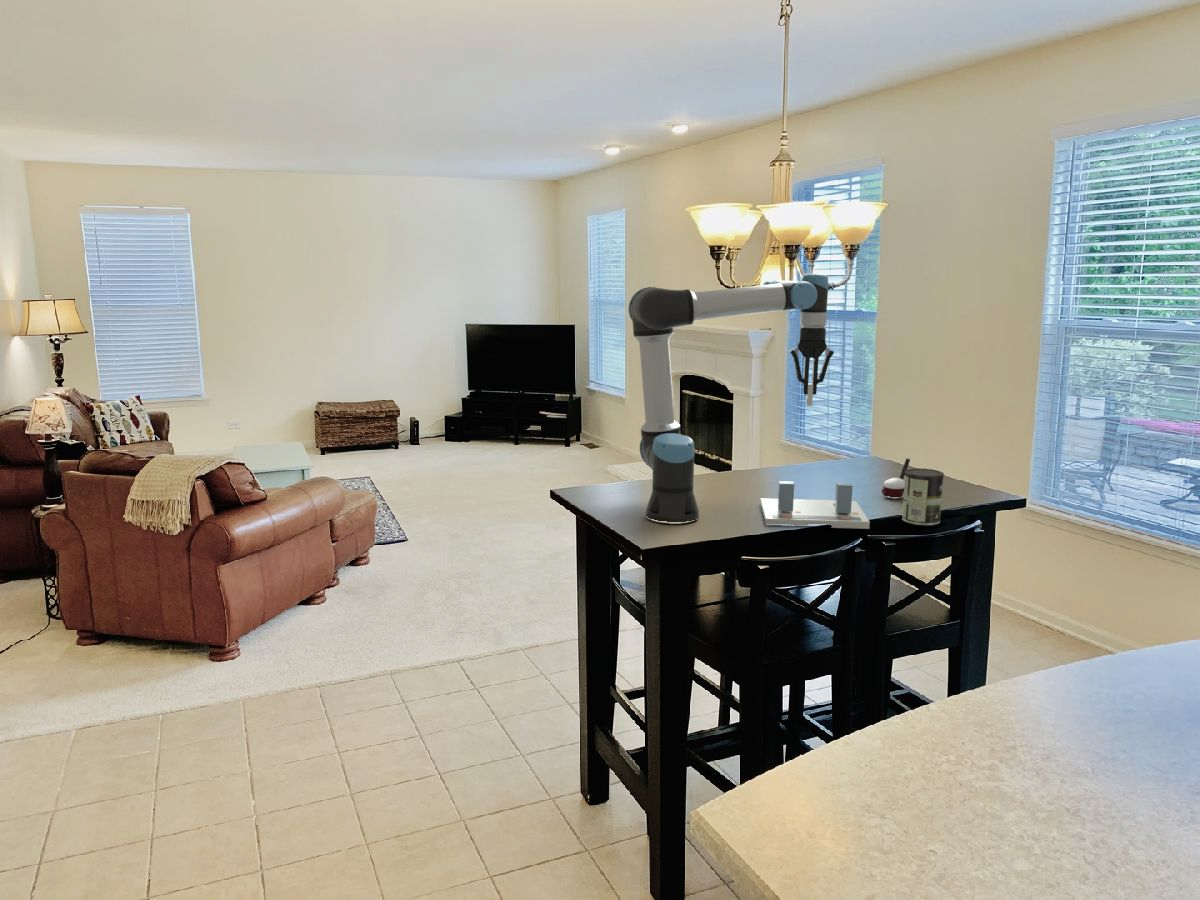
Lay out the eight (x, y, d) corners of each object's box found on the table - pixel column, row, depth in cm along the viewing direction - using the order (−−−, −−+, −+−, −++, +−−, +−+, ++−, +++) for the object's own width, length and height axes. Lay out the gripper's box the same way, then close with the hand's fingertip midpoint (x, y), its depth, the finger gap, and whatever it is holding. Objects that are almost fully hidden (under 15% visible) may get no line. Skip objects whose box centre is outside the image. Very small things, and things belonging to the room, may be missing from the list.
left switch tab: (778, 510, 247) (779, 483, 245) (777, 508, 250) (778, 481, 248) (792, 511, 246) (794, 484, 245) (791, 508, 249) (793, 481, 247)
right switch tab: (836, 512, 245) (837, 485, 243) (834, 509, 248) (836, 482, 246) (850, 513, 244) (852, 485, 243) (849, 510, 247) (850, 483, 246)
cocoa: (882, 501, 268) (884, 463, 265) (876, 495, 274) (877, 458, 271) (913, 500, 268) (915, 462, 265) (906, 494, 274) (908, 457, 271)
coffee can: (936, 516, 250) (940, 468, 247) (943, 526, 240) (947, 477, 237) (899, 514, 252) (902, 467, 249) (904, 524, 242) (907, 475, 239)
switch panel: (765, 525, 241) (765, 518, 241) (760, 504, 263) (760, 497, 262) (869, 528, 238) (869, 521, 238) (855, 507, 260) (855, 500, 259)
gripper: (833, 326, 261) (829, 403, 266) (789, 325, 262) (786, 403, 267) (837, 327, 254) (832, 407, 259) (791, 327, 255) (788, 406, 260)
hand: (809, 405), depth 263 cm, fingers closed
